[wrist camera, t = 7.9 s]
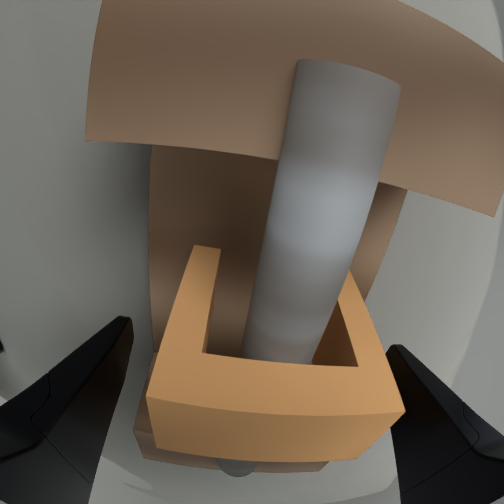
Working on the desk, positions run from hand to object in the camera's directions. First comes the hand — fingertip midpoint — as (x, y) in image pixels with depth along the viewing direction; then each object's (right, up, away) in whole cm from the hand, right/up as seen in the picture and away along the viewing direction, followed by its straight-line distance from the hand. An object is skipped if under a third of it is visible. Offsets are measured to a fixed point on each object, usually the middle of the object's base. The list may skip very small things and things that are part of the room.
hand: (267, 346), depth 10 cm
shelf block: (0, +3, +4) cm, 5 cm away
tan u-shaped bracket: (0, +2, +3) cm, 3 cm away
